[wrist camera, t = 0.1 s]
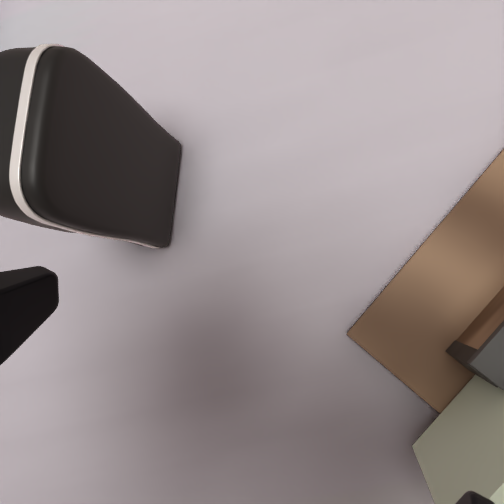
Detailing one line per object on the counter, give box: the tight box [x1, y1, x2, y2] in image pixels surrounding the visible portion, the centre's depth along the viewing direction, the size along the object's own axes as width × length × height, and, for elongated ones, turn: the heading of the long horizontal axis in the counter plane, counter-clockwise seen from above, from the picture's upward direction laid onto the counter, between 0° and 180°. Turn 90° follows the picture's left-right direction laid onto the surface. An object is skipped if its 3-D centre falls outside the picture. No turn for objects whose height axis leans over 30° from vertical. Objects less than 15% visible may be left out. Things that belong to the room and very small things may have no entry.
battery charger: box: [0, 44, 181, 248], centre depth 20 cm, size 7×4×11 cm, turn 174°
